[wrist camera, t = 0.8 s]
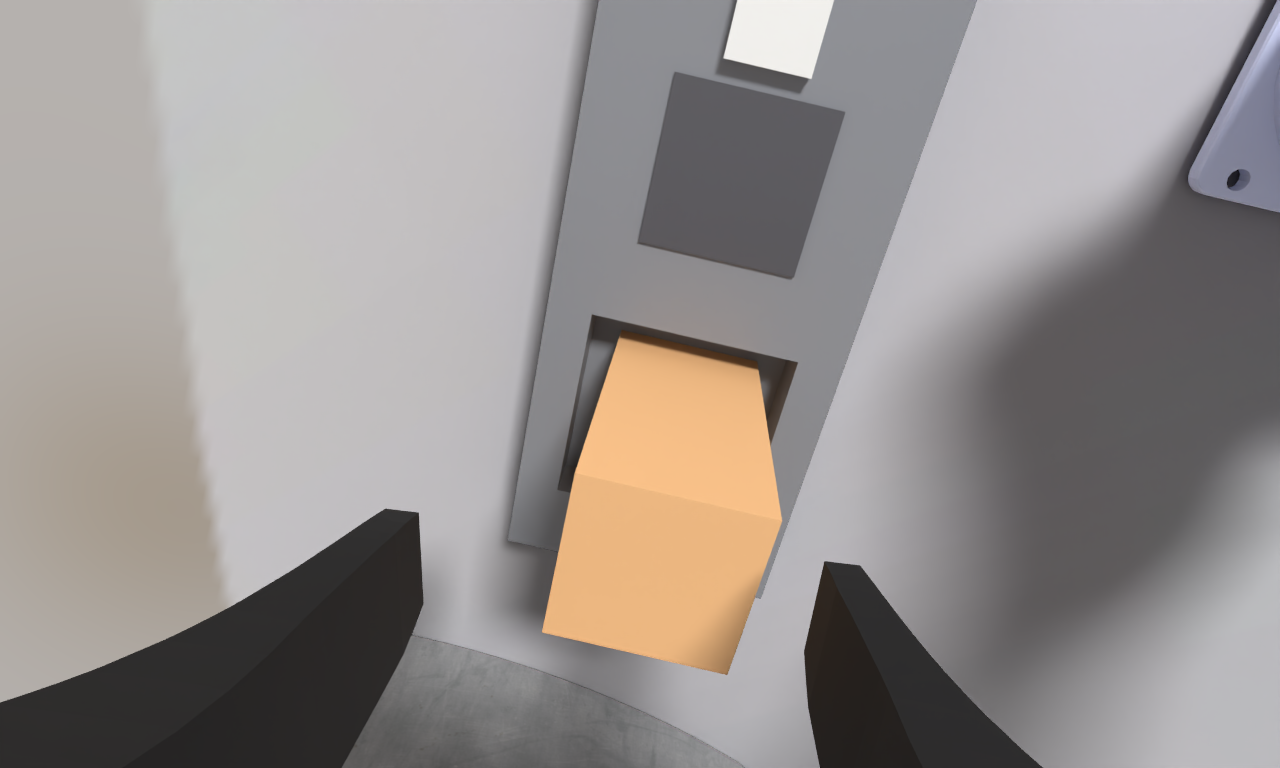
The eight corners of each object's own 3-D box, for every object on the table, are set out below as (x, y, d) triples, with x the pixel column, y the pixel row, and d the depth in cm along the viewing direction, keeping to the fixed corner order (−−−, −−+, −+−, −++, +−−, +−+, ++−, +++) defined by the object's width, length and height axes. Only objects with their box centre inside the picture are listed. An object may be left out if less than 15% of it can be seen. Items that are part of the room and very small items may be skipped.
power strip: (1089, -396, 15) (1156, -478, 12) (756, 558, 24) (761, 607, 22) (696, -491, 14) (694, -589, 12) (522, 504, 24) (504, 547, 22)
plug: (757, 361, 21) (781, 521, 14) (721, 477, 23) (727, 674, 15) (621, 330, 21) (574, 473, 14) (595, 448, 23) (541, 632, 15)
